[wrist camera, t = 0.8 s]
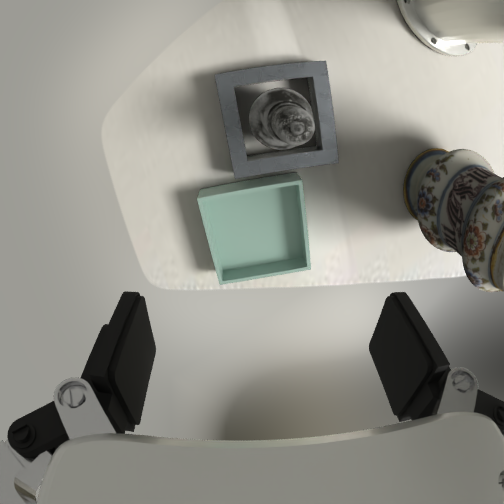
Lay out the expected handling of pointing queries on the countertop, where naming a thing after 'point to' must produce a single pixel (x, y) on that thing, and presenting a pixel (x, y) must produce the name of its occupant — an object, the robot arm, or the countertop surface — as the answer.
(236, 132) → the grey square frame
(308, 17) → the countertop surface
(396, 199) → the countertop surface
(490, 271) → the apothecary jar
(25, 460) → the robot arm
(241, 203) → the tray
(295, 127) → the salt shaker
